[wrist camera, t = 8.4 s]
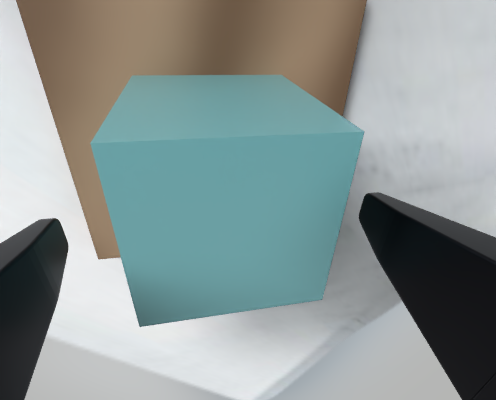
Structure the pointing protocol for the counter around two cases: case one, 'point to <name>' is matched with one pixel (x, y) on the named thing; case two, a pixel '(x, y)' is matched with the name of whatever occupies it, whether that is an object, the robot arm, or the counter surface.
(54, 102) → the base board
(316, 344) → the counter surface
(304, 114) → the teal cube
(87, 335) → the counter surface
